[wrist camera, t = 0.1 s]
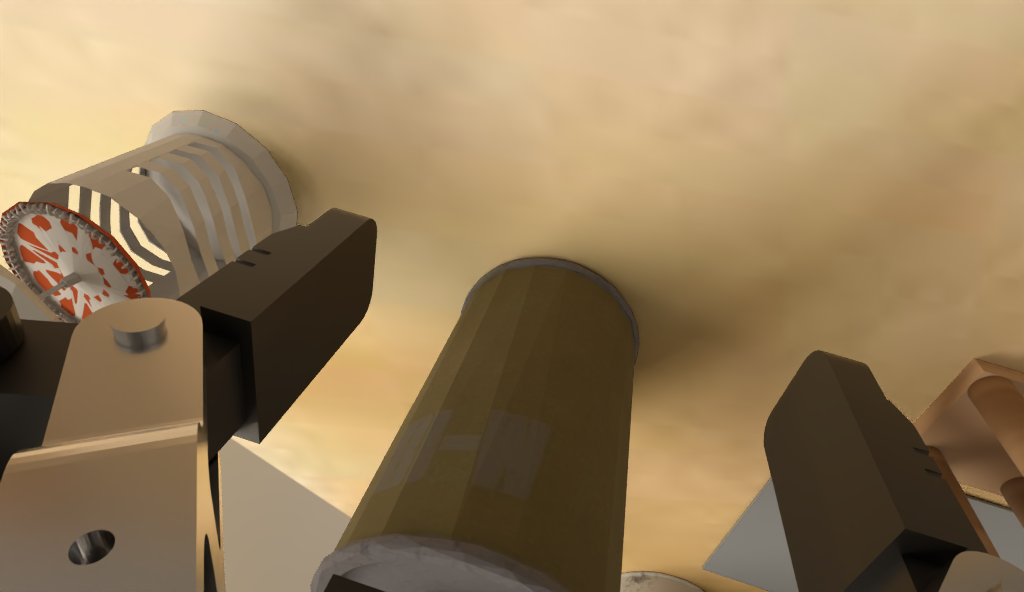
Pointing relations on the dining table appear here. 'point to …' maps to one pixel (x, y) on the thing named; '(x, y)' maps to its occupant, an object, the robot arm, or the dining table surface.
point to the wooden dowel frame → (980, 437)
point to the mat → (766, 559)
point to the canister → (508, 448)
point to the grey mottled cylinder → (655, 583)
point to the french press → (145, 220)
